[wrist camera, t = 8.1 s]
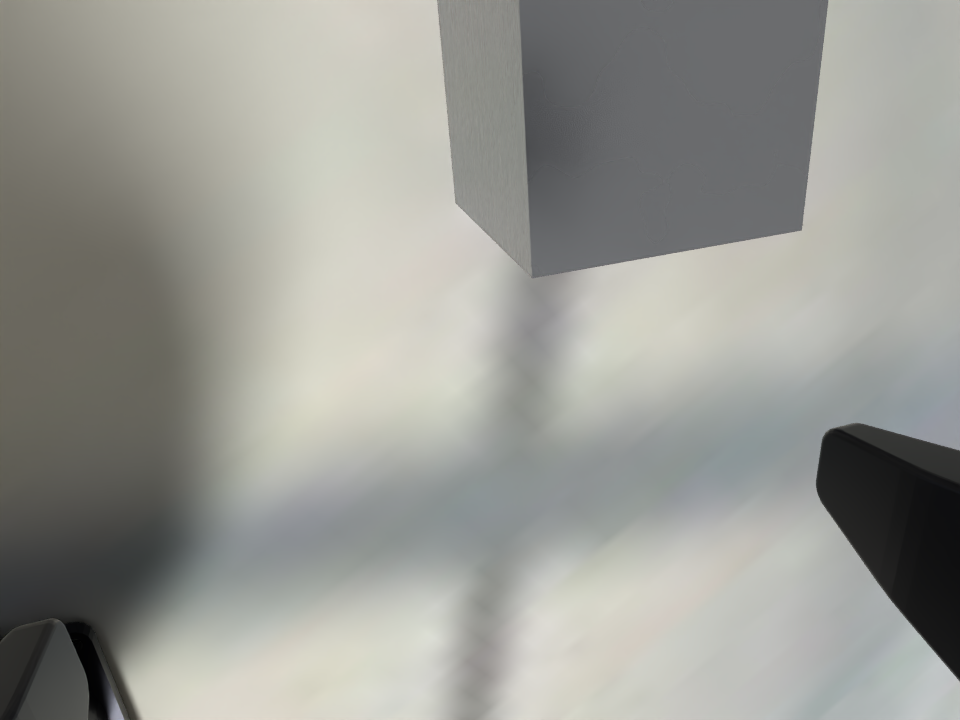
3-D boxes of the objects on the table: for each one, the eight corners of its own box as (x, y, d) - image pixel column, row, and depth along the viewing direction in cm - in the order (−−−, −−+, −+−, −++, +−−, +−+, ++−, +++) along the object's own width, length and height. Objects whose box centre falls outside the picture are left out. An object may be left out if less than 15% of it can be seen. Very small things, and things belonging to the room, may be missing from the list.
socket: (664, 170, 22) (801, 230, 16) (454, 202, 20) (532, 278, 15) (674, -126, 19) (847, -168, 13) (426, -111, 17) (511, -150, 12)
